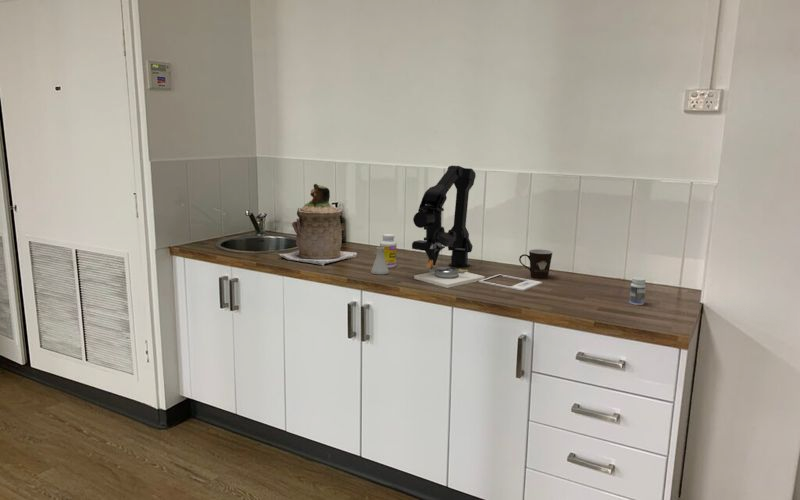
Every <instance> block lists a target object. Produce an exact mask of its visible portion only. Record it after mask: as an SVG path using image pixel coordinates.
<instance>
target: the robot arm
mask: <svg viewBox="0 0 800 500" xmlns="http://www.w3.org/2000/svg"><path fill="white" fill-rule="evenodd" d="M476 174H477V173H476V172H475V171H474V169H473V168H468V167H462V166H461V165H449V166H448V167H447V170H446V171H445V172H444V174H443V175H442V176H441V178H440V180H439V181H438V182H437V183H436V184H435V185H433V186H431V187H429V188H428V189H426V191H425V192H424V194H423V196H422V198H421V202H420V204H419V207H418V210H417V211H418V212H416V213H415V214H414V215H413V218H412V219H413V220H412V221H413V224H414V225H415V227H417V228H419V229H423V230H425V237H423V240H420V239H419V240H414V241H412V243H411V249H412V250H418V251H424V253H426V256H427V257H428V258H427V259H433V266H435V265H436V263H437V260H438V259H439V255H440V252H441V251H442V250H444V249H445V248H446V247H447V250H448V251H451V256H450V257H451V259H450V262H451V263H448V265H449V266H450V267H454V268H458V269H462V268H465V267H470V266H471V264H470V263H468V258H469V257H468V255H469V253H472V251H473V244H472V242H471V240H470V233H469V231H468V229H467V227H466V226H467V213H468V204H469V193H470V190H471V189H472V187H473V186H474V184H475V180H476V177H477V175H476ZM453 185H454V186H455V189H456V197H455V207H454V217H453V218H454V219H453V226H452V227H451V229H448V231H447V232H446V230H445V226H442V224H443V223H442V212H444V211H445V210H444V208H443V206H444V205H445V202H446V201H447V198H448V197H447V194H448V192H449V191H450V190H451V188H452V186H453Z"/></svg>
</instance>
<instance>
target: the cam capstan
mask: <svg viewBox="0 0 800 500" xmlns="http://www.w3.org/2000/svg"><path fill="white" fill-rule="evenodd" d="M426 270H428V273H430V272H435V276H437V277H441V278H455V277H458V276H459V271H465V272H469V269H465V268H458V267H455V266H438V267H435V268H434V265H433V259H429V258H426Z"/></svg>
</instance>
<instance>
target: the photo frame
mask: <svg viewBox="0 0 800 500" xmlns="http://www.w3.org/2000/svg"><path fill="white" fill-rule="evenodd" d="M500 276H501V277H503V278H509V279H514V280H521V281H522V282H519V283H516V284H514V285H511V286H510V285H505V284H499V283H493V282H489V281H487V280H490V279H492V278H496V277H500ZM478 282H479V283H480V284H481V283H483V284H485V285H486V284H487V285H492V286H497V287H500V288H501V287H502V288H507V289H511V290H512V289H513V290H516V291H522V292H523V291H526V290H529V289H531V288H534V287H536V286H539V285H541V284H543V281H540V280H539V281H538V280H534V279H527V278H523V277H517V276H513V275H512V276H511V275H506V274H500V273H499V274H496V275H492V276H489V277H487V278H486V277H485V279H483V280H480V281H478Z"/></svg>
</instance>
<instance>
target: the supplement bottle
mask: <svg viewBox="0 0 800 500" xmlns="http://www.w3.org/2000/svg"><path fill="white" fill-rule="evenodd" d="M397 245H398V244H397V241H395V234H393V233H384V234H382V240H381V241H380V242H379V247H384V258H385V261H386V265H387V268H388V269H389V268H394V267H396V266H397Z"/></svg>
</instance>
